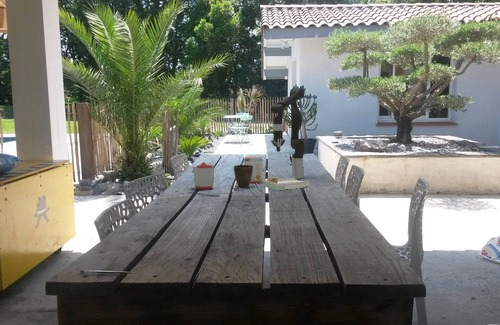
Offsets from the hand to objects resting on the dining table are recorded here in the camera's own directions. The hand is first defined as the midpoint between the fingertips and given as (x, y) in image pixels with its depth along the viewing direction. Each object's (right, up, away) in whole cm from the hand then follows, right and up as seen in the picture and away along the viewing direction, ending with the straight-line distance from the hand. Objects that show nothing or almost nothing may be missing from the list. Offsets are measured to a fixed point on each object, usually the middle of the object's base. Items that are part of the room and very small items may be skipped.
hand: (278, 151), depth 383 cm
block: (-5, -24, -16) cm, 30 cm away
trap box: (+6, -27, -15) cm, 32 cm away
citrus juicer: (-58, -28, -21) cm, 68 cm away
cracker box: (-20, -25, +5) cm, 32 cm away
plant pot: (-27, -28, -16) cm, 42 cm away
